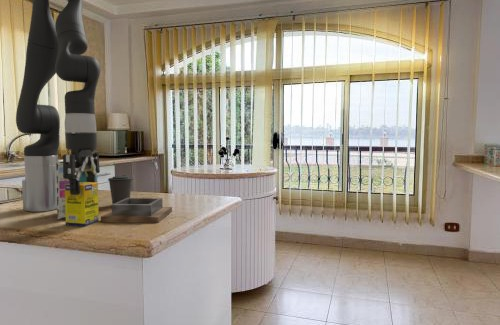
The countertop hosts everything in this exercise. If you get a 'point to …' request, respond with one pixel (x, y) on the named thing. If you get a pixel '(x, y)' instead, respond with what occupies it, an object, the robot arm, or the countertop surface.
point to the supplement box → (82, 205)
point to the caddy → (137, 210)
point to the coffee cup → (120, 187)
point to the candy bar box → (61, 190)
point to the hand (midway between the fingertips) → (83, 192)
